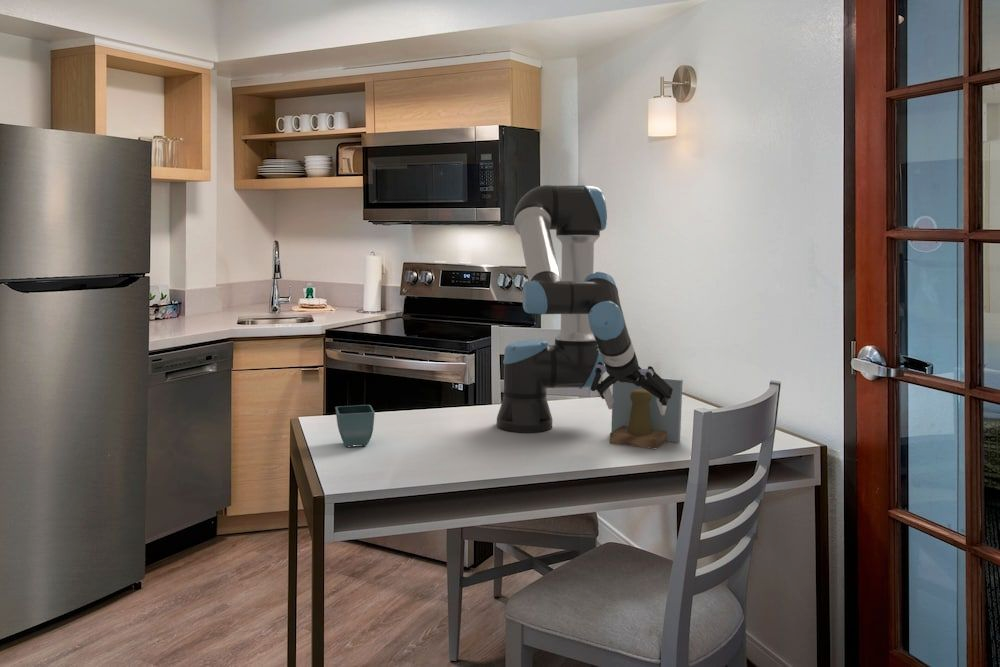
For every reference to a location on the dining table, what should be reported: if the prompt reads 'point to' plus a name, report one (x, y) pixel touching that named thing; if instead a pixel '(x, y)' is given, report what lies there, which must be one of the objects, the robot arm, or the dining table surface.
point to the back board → (658, 421)
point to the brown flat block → (638, 438)
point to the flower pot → (355, 424)
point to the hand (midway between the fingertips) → (637, 407)
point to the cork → (640, 413)
